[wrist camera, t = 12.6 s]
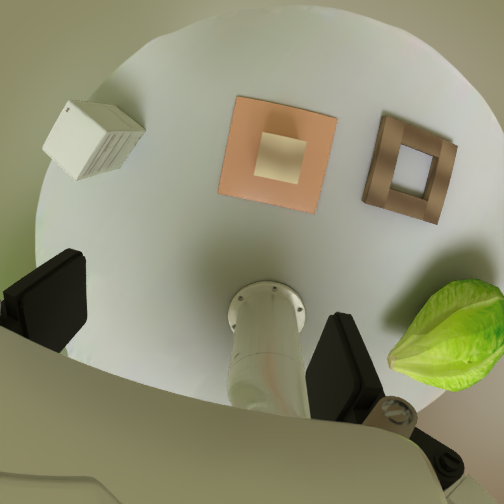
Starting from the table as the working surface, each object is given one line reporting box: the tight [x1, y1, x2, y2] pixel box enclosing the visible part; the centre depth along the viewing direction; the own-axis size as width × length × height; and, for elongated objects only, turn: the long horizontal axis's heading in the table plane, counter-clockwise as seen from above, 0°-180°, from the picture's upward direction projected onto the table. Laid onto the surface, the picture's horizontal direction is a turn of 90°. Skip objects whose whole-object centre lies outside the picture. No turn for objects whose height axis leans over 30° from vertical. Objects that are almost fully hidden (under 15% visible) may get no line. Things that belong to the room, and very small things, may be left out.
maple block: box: [254, 132, 307, 184], centre depth 37 cm, size 5×5×8 cm
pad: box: [218, 96, 337, 214], centre depth 41 cm, size 14×14×1 cm
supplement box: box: [42, 100, 146, 181], centre depth 35 cm, size 7×7×13 cm
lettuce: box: [387, 279, 504, 392], centre depth 41 cm, size 19×25×17 cm
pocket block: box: [362, 116, 458, 225], centre depth 40 cm, size 13×13×2 cm
